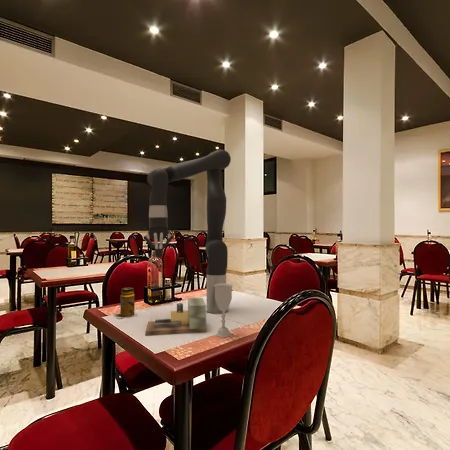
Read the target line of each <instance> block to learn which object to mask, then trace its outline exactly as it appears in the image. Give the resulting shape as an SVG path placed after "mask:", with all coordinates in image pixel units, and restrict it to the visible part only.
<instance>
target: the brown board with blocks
mask: <svg viewBox="0 0 450 450" xmlns="http://www.w3.org/2000/svg"><path fill="white" fill-rule="evenodd" d="M187 310H189V325H181V322H172V323H171V318H161V319H160V318H157V319H155V320H153V321H150V320H148V321H147V323H146V328H145V331H144V332H145V333H144V335H145V337H147V336H163V335H176V334H177V335H179V334H181V335H182V334H194V333H206V332H207V303H206V302H205V300H204V298H203V297H197V298H195V297H191V298H187Z"/></svg>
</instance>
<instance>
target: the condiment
mask: <svg viewBox="0 0 450 450" xmlns="http://www.w3.org/2000/svg"><path fill="white" fill-rule="evenodd" d="M134 290H135V289H134V287H124V288H121V291H120V293H121V294H120V295H119V296H120V298H119V299H120V300H119V301H120V302H119V303H120V306H119V307H120V312H119V313H114V314H113V316H114V317H115V318H116V319H118V320H119V319H124V318H133V317H137V316H138V315H137V314H136V313H135V310H136V309H135V303H136V302H135V298H136V297H135V293H134V292H135V291H134Z"/></svg>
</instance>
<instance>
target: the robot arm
mask: <svg viewBox="0 0 450 450" xmlns="http://www.w3.org/2000/svg"><path fill="white" fill-rule="evenodd" d="M231 159H232V157H231V155H230V153H229V152H228V151H227V150H225V149H217V150H214V151H212V152H210V153H209V154H207V155H205V156H202V157H199V158H195V159H191V160H186V161H182V162H178V163H175V164H172V165H170V166H167V167H163V168H161V167H159V168H155V169H153V170H151V171H150V172H148V174H147V177H146V180H147V181H146V182H147V183H148V184H149V185H150V186H151V192H150V193H149V196H148V197H149V208H148V209H149V210H148V224H149V225H148V227H149V228H148V229H149V230H148V231H147V234H146V235H144V236H143V237H142V238H143V240H144V241H145V242H146V243H147V245H149V247H150V248H151V249H154V250H155V257H156V258H157V259H161V258H162V257H163V250H164V249H165V248H167V247H168V245H169V244H170V243H171V242H172V240H173V239H174V235H172V234H170V231H169V230H168V229H169V228H168V227H169V225H168V207H167V206H168V205H167V194H168V187H169V183H172V182H177V181H181V180H184V179H188V178H191V177H193V176H195V175H198V174H201V173H204V172H206V179H207V183H206V185H207V186H206V225H207V227H206V228H207V230H206V231H207V233H206V242H205V254H206V255H207V265H206V266H207V267H206V313H207V312H208V313H210V314H222V311H221V310H220V309H219V307H218V305H217V303H216V300H215V287H214V285H215V284H227V270H228V253H229V252H228V251H229V250H228V247H227V244H226V243H225V241H223V228H224V224H225V220H226V216H227V214H226V213H227V196H226V193H225V190H224V188H223V185H222V170H225V169H227V168H228V167H229V166H230V164H231V162H232V161H231ZM150 238H151V239H152V240H153V241H154V243H152V242H151V240H150ZM166 238H167V240H166V241H165V243H164V242H163V241H164V240H165V239H166ZM163 243H164V244H163ZM225 313H228V309H227V310H226V311H225Z"/></svg>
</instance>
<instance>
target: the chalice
mask: <svg viewBox="0 0 450 450" xmlns="http://www.w3.org/2000/svg"><path fill="white" fill-rule="evenodd" d="M233 286H234V284H232V283H226V284H215V285H214V287H215V300H216V303H217V305H218V307H219V309H220V310H221V311H222V313H221V321H220V322H221V327H219V328H218V331H217V333H216V336H217V337H220V338H228V337H230V336H231V333H230V331H229V329H228V327H226V325H225V324H226V322H227V321H226V312H225V311H226V310H227V311H228V309H229V307H230V305H231V303H232V299H233V296H232V295H233V291H232V290H233Z"/></svg>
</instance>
